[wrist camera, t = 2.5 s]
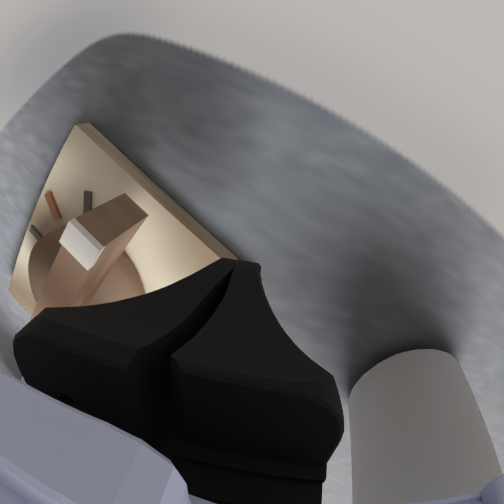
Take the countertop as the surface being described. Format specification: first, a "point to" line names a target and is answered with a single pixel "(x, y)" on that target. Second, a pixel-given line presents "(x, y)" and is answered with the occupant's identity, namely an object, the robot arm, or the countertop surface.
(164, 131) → the countertop surface
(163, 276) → the dial plate
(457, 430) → the can
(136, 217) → the dial
